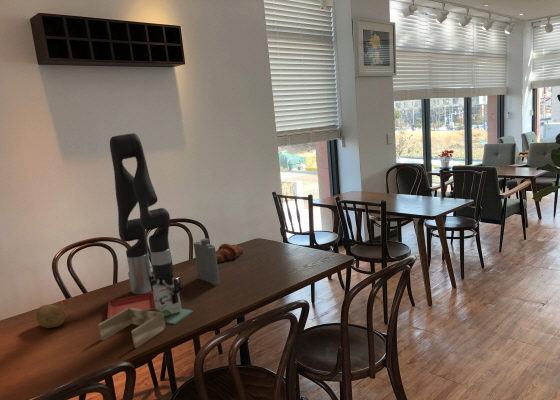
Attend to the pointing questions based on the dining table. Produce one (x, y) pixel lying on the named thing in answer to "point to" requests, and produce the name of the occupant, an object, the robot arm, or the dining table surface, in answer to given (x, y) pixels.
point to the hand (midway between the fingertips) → (168, 301)
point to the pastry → (228, 252)
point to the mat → (177, 316)
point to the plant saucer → (132, 304)
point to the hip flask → (206, 262)
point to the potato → (50, 316)
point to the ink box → (165, 300)
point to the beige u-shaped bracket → (146, 319)
